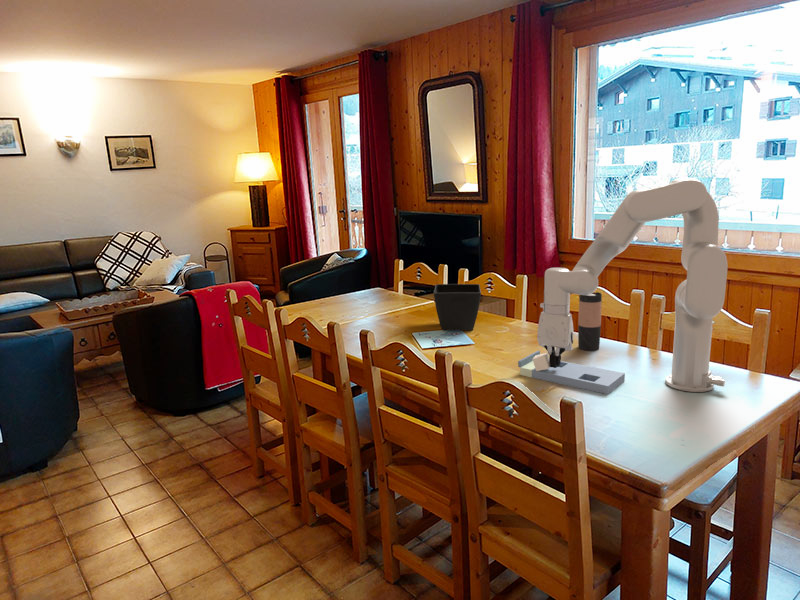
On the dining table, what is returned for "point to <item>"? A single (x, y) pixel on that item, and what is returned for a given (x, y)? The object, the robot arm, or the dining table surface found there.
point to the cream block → (541, 362)
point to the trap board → (574, 375)
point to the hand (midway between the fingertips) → (554, 366)
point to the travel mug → (589, 321)
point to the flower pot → (457, 305)
